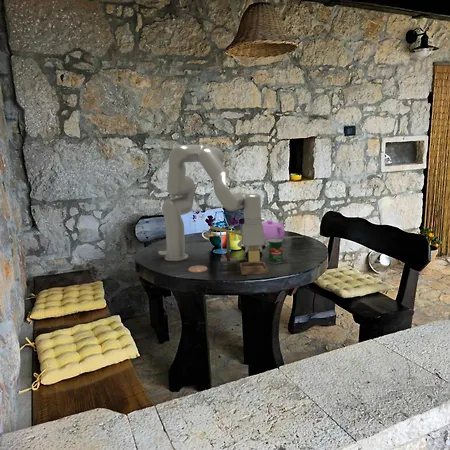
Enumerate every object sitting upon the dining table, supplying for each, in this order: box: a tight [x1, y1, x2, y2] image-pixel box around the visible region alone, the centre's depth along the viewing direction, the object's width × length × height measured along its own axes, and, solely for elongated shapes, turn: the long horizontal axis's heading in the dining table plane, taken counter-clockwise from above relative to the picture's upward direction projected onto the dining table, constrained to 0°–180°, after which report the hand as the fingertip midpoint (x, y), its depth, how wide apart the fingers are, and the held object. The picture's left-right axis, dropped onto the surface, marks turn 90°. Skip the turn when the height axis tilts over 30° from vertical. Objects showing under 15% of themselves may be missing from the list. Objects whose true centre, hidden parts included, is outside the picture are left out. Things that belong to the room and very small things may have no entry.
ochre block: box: [248, 248, 261, 262], centre depth 187 cm, size 5×5×5 cm
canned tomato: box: [266, 238, 284, 265], centre depth 200 cm, size 8×8×11 cm
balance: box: [203, 225, 244, 265], centre depth 201 cm, size 23×6×18 cm, turn 92°
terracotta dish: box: [188, 265, 208, 273], centre depth 192 cm, size 9×9×1 cm
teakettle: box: [261, 219, 286, 244], centre depth 244 cm, size 17×17×12 cm
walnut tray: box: [239, 261, 269, 276], centre depth 188 cm, size 12×12×2 cm
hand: (253, 259), depth 187 cm, fingers closed on ochre block, 5 cm apart
